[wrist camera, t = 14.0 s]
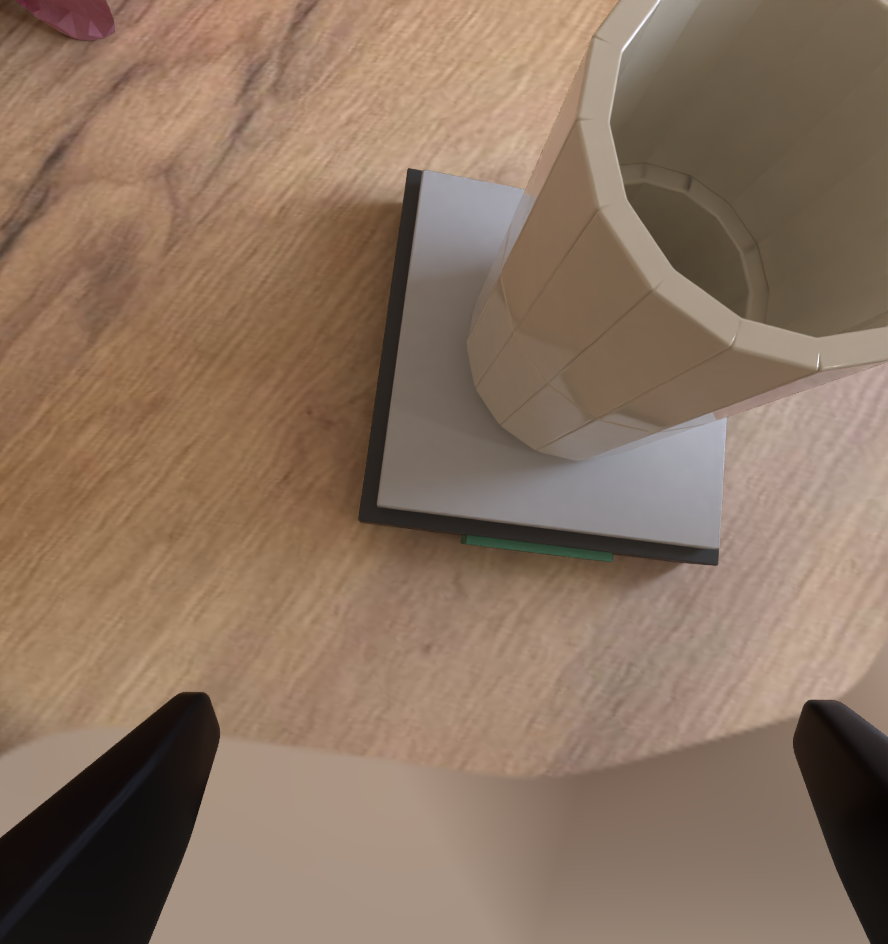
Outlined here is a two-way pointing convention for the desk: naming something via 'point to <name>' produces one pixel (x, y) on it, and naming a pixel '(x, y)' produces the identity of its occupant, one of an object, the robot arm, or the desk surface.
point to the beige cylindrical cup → (695, 226)
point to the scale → (484, 440)
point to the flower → (74, 17)
